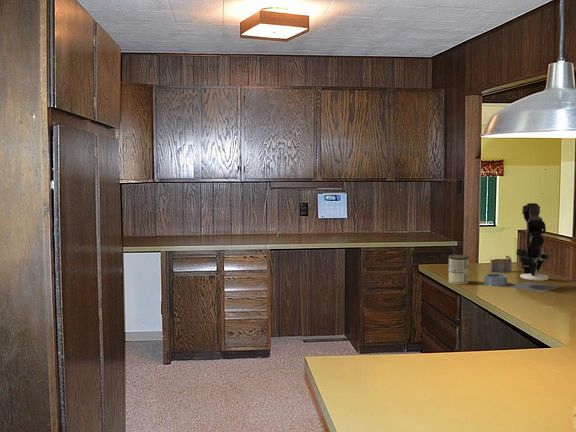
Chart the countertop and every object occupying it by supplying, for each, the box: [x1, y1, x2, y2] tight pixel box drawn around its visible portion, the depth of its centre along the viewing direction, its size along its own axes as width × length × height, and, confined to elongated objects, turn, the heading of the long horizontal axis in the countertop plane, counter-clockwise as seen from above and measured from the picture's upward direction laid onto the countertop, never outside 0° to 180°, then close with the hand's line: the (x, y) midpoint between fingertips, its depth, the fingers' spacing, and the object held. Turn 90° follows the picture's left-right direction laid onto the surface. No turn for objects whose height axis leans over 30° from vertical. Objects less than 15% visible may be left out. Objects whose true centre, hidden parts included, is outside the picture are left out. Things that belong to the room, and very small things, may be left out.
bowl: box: [483, 273, 508, 287], centre depth 307 cm, size 11×11×5 cm
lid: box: [520, 269, 549, 281], centre depth 298 cm, size 13×13×4 cm
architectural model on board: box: [489, 255, 513, 273], centre depth 342 cm, size 11×3×10 cm, turn 91°
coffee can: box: [448, 254, 470, 285], centre depth 314 cm, size 10×10×14 cm
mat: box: [508, 281, 560, 293], centre depth 299 cm, size 18×18×1 cm
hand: (534, 274), depth 298 cm, fingers closed on lid, 3 cm apart
